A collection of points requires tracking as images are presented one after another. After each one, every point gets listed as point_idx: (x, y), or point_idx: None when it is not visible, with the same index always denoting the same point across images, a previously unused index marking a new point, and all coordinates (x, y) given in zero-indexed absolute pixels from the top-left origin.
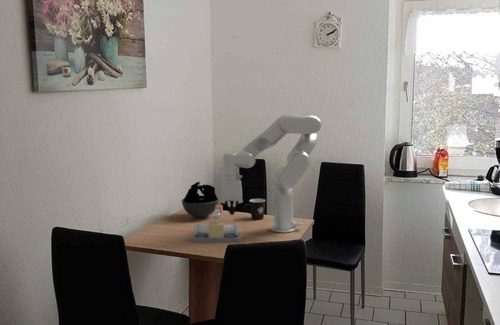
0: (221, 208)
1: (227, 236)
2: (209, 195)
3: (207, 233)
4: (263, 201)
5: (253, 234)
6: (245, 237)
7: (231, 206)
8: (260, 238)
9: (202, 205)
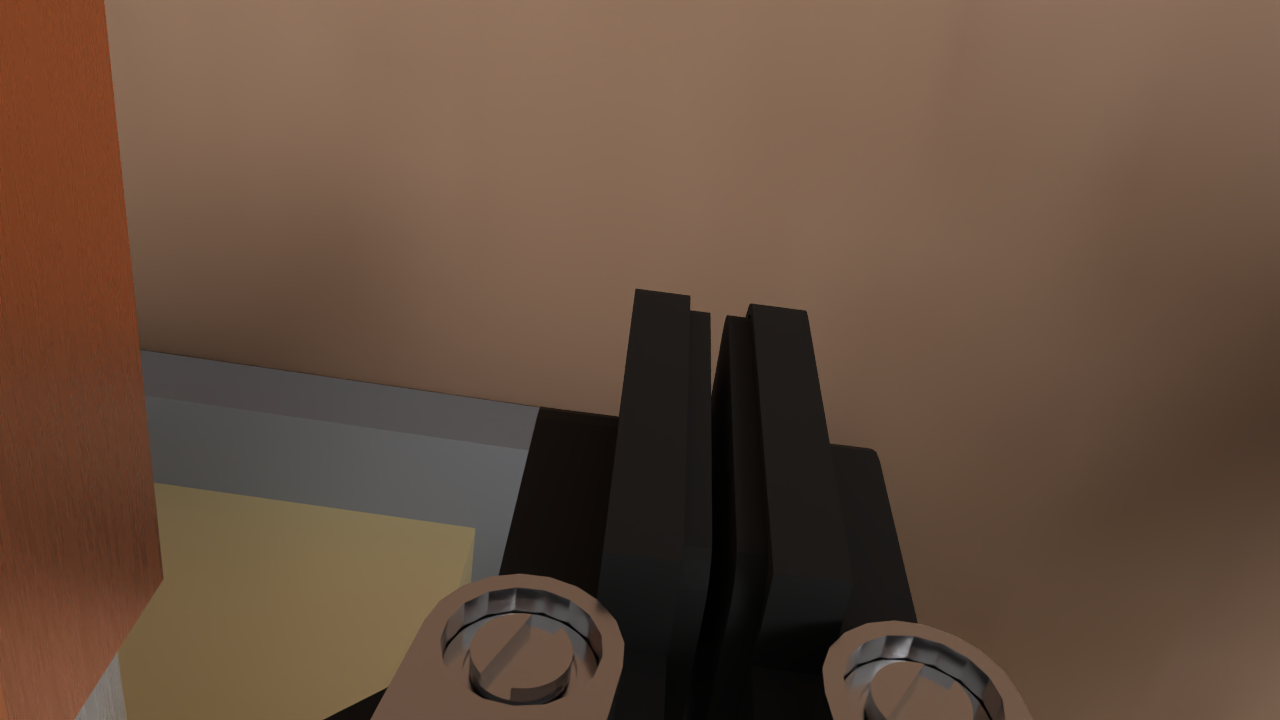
0: (35, 665)
1: None
2: None
3: None
4: None
5: (1221, 400)
6: (957, 575)
7: (669, 672)
8: (1256, 681)
9: None
